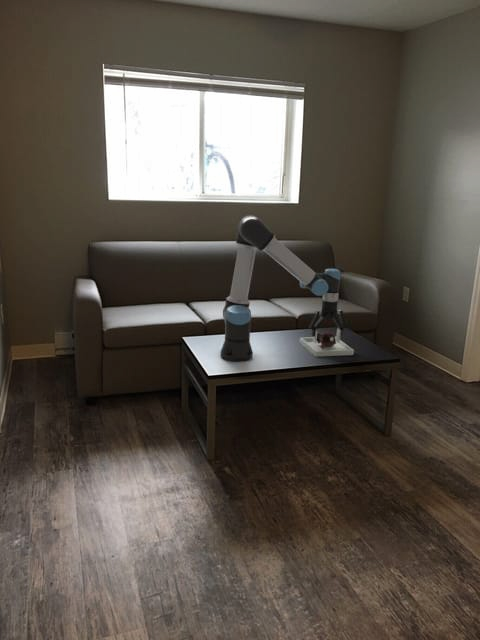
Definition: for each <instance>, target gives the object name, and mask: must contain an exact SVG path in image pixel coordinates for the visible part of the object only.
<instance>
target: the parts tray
mask: <svg viewBox="0 0 480 640" xmlns="http://www.w3.org/2000/svg"><path fill="white" fill-rule="evenodd" d="M335 339H336V336H335ZM330 340H331V341H333V340H334V338H333V337H331V338H330ZM335 341H336V340H335ZM298 343H300V344H301V345H302V346H303V347H304V348H305V349H306V350H307V351H309V352H310V353H311V354H312V355H313V356H314V357H333V356H335V357H336V356H354V352H355V349H353V348H352V347H350V346H349V345H348V344H346V343H345V342H344V341H342V340H341V339H340V342H337V341H336V344H334V345H333V346H332V347H327V348H323V349H322V348H321V347H320V346H321V342H320V343H319V344H318V342H316V343H314V342H313V336H311V337H305V336H304V337H299V342H298Z"/></svg>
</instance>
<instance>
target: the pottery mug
mask: <svg viewBox="0 0 480 640" xmlns="http://www.w3.org/2000/svg"><path fill="white" fill-rule="evenodd" d="M331 337H333V338H334V340H333V341H331V340H330V338H331ZM335 337H336V336H335V334H333V333H331V332H324V333H319V332H317V342H318V344H319V343H320V342H321V346H320V347H321V348H322V349H323V348H327V347H332V346H333V345H334V344H336V341H335V340H336V339H335Z"/></svg>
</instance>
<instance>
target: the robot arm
mask: <svg viewBox="0 0 480 640" xmlns="http://www.w3.org/2000/svg"><path fill="white" fill-rule="evenodd" d="M236 231H237V234H236V239H235V240H236V241H235V244H236V245H237V253H236V259H235V260H236V261H235V266H234V270H233V276H232V282H231V287H230V293H229V296H227V297H226V298H225V304H224V306H223V308H222V316H223V318H222V319H224V325H225V326H224V327H225V328H224V341H223V344H222V347H221V348H220V349H221V350H220V358H222V359H223V360H225V361H229V362H236V363H238V362H239V363H240V362H247V361H250V360H252V359H253V356H254V355H253V353H254V352H253V349H252V345H251V341H250V340H251V338H250V337H251V320H252V311H251V309H250V303H251V301H250V300H249V291H250V286H251V281H252V276H253V271H254V270H253V269H254V264H255V259H256V253H257V250H259V251H260V252H265V253H266V254H267V255H269V256H270V258H272V259H273V260H274V261H275V262H276V263H278V264H279V265H280V266H281V267H283V268H284V269H285V270H286V271H287V272H288V273H290V275H292V276H293V277H294V278H296V279H297V280H298V281H299V286H300V288H301V289H309V290H310V292H312V294H314V295H315V296H318V297H320V296H321V297H322V302H321V310H318V309H315V313H314V315H313V317H312V320H311V322H310V324H309V326H308V329H310V330H311V337H313V342H314V343H316V342H317V333H318V330H317V329H318V328H319V327H320V326H321V325H322V323H323V321H325V320H333V322H334V323H335V324H336V327H338V328H336V336H335V337H336V341H337V342H340V340H341V336H342V334H343V331H344V329H346V328H347V325H346V322H345V319H344V315H343V313H344V311H343V310H341V309H338V305H339V303H338V300H339V295H340V294H339V291H340V283H341V271H340V270H339V269H337V268H326V269H324V272H320V273H319V272H315V271H314V269H312V268H311V267H310V266H308V265H307V264H306V263H305V262H304V261H302V260H301V259H300V258H299V257H298V256H297V255H296V254H294V253H293V252H292V251H291V250H290V249H289V248H287V247H286V246H285V245H284V243H281V242H280V241H279V240H278V239H277V238H276V235H275V234H274V232H273V231H271V230H270V229H269V227H267V225H266V224H265V223H264V222H263V220H261V219H260V218H259V217H258V216H255V215H250V214H248V215H246V216H243V217H242V218H241V219H240V220H239V221H238V223H237V227H236ZM337 314H338V317H339V319H338V317H337V316H336V315H337ZM339 320H340V321H339Z"/></svg>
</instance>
